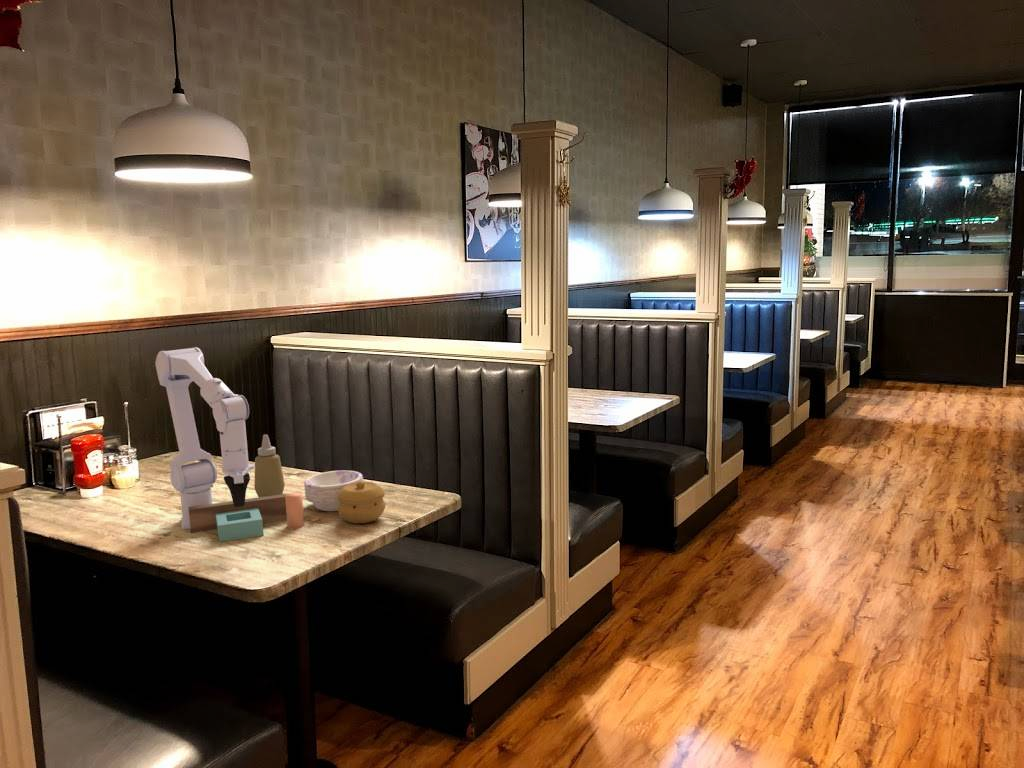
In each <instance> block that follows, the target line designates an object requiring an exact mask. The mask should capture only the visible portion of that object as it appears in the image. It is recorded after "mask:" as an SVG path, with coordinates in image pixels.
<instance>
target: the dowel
mask: <svg viewBox="0 0 1024 768" xmlns="http://www.w3.org/2000/svg"><path fill="white" fill-rule="evenodd" d="M285 494H286V495H285V499H286V515H287V519H286V527H287V528H288V529H300V528H302V527H304V526H305V521H304V520H305V519H304V518H305V517H304V503H303V493H302V492H290V493H285Z"/></svg>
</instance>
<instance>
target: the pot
mask: <svg viewBox="0 0 1024 768" xmlns="http://www.w3.org/2000/svg"><path fill="white" fill-rule="evenodd" d="M337 496H338V498H337V499H338V501H340V504H339V506H338V511H337V512H338V513H339V515H340V516H341V518H342V519H343V520H345V521H346V522H347V523H353V524H367V523H370V522H374V521H376V520H377V519H380V517H381V516H382V515H383V513H384V512H385V509H386V505H387V503H386V502H385V500H384V497H385V496H386V495H385V490H384V488H383V487H382V486H381V485H379V484H377V483H374V482H371V481H368V482H367V481H365V482H364V481H363V482H362V481H359V482H357V483H353V484H349V485H347V486H345V487H343V488H342V489H341V490H340V492H339V493H338V495H337Z"/></svg>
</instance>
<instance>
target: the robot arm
mask: <svg viewBox="0 0 1024 768" xmlns="http://www.w3.org/2000/svg"><path fill="white" fill-rule="evenodd" d="M157 353H158V354H157V355H156V357H155V358H156V359H155V369H156V374H157V378H158V381H159V386H163V387H164V388H165V389H166V394H167V398H168V399H167V400H168V403H169V408H170V412H171V418H172V423H173V428H174V432H175V436H176V442H177V446H178V447H177V448H178V450H179V452H178V453H177V454H176V455H175V457H174V458H173V459H172V460H171V461H170V462H169V470H170V476H169V477H170V482H171V485H172V487H173V489H174V490H176V491H177V492H179V496H180V504H181V505H180V507H181V514H182V516H181V518H180V519H181V520H180V521H181V522H180V523H181V530H191V529H190V519H189V508H188V507H192V506H200V505H207V504H213V498H212V488H213V487H214V484H215V483H216V481H217V479H218V470H217V467H216V464H215V463H214V459H213V457H212V454H211V453H210V452H207V451H205V450H203V449H202V448H201V445H200V440H199V435H198V434H199V433H198V431H197V427H196V421H195V415H194V412H193V406H192V401H191V397H190V391H189V386H190V384H191V383H193V382H194V384H196V385H197V386H198V387H199V388H200V391H199V392H200V394H199V395H200V396H201V397H202V398H203V400H204V401H205V402H206V403H207V405H209V407H210V408H211V409H212V416H213V418H214V420H215V425H216V429H217V431H218V432H219V441H220V442H219V443H220V450H221V451H220V452H221V462H222V469H221V473H222V474H224V475H225V476H223V481H224V484H225V485H226V486H227V488H228V490H229V492H230V496H231V501H233V504H234V506H235V507H241V506H244V504H245V499H246V496H247V495H246V494H247V489H248V488H247V487H248V486H249V483H250V482H251V481H250V480H251V477H250V473H249V471H251V470H255V464H250V463H249V452H248V440H247V429H246V420H247V419H248V418H249V415H250V406H249V403H248V399H247V398H246V397H245V396H244V395H242V394H237V393H236V394H235V393H234V392H233V391H232V390H231V389H230V388H229V387H228V386H227V385H226V384H225V383H224V382H223V380H221V379H220V378H217V377H213V376H212V374H211V373H210V372H209V370H208V369H207V367H206V365H205V357H204V353H203V351H202V350H201V349H200V348H199V347H197V346H195V347H194V346H193V347H189V348H181V349H173V350H160V351H159V352H157ZM195 461H198V462H195ZM190 462H192V463H190ZM187 463H188V464H187Z"/></svg>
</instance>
